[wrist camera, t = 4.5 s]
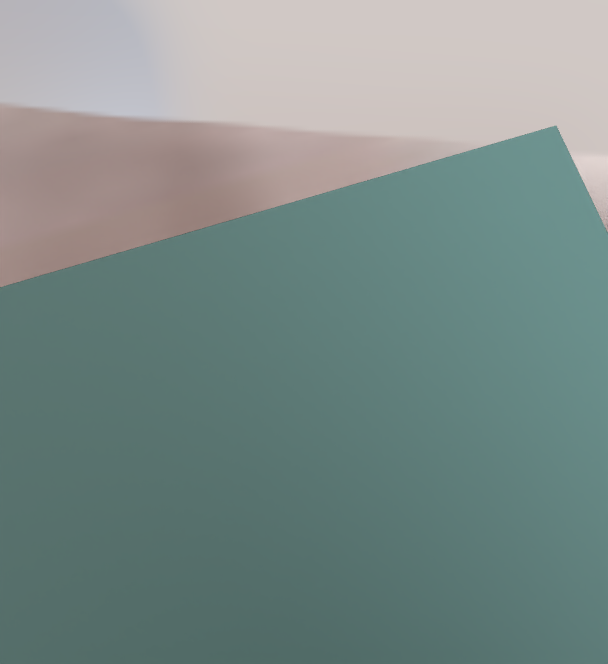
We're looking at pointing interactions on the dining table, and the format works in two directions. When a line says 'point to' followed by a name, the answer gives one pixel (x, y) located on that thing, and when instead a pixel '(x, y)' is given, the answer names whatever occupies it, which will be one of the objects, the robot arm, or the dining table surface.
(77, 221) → the dining table surface
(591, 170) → the dining table surface
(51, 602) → the pillar
